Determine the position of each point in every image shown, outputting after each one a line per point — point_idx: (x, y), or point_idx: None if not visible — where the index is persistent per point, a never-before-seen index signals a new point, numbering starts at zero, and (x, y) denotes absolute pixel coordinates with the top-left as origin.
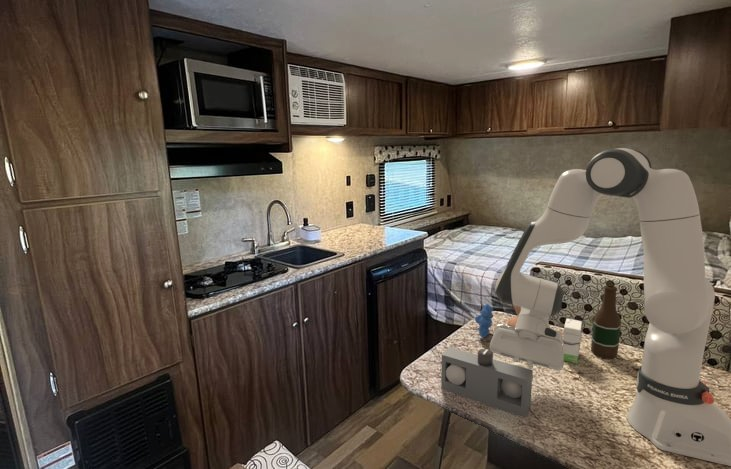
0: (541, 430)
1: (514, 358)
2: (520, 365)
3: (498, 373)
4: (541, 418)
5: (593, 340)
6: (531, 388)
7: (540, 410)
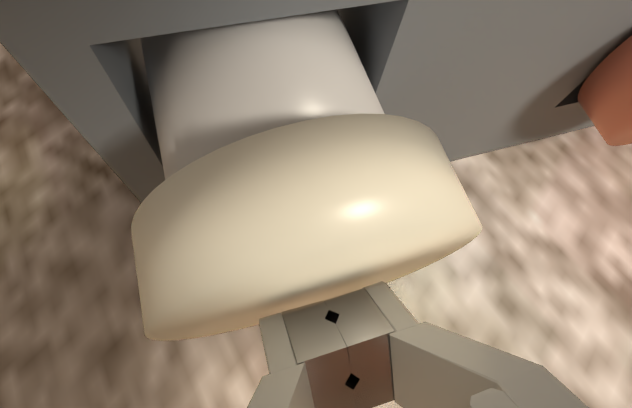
0: (36, 95)
1: (562, 401)
2: (287, 154)
3: None
4: (66, 182)
5: None
6: (104, 160)
7: (97, 250)
